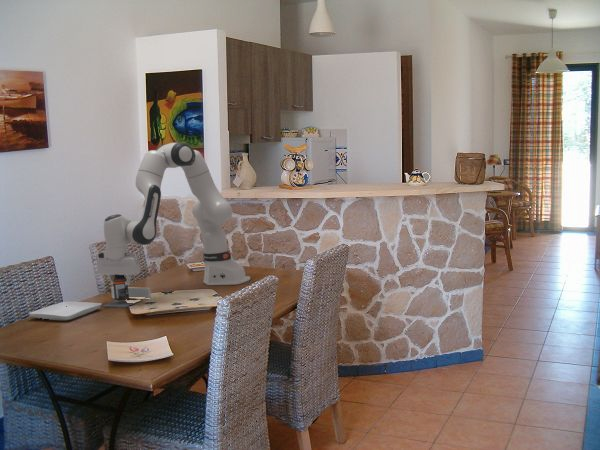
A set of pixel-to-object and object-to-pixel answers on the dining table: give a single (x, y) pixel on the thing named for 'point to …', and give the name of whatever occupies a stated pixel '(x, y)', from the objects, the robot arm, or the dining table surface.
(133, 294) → the acrylic wall
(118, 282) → the supplement bottle
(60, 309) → the salad plate
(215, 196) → the robot arm
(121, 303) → the rubber mat
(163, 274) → the dining table surface
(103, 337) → the dining table surface
